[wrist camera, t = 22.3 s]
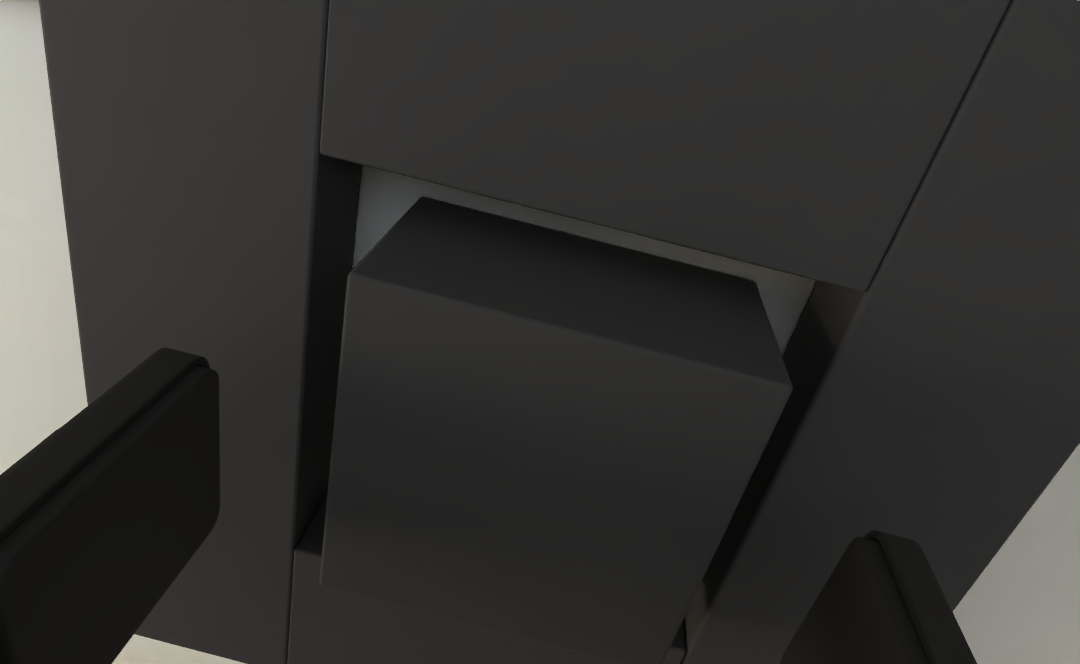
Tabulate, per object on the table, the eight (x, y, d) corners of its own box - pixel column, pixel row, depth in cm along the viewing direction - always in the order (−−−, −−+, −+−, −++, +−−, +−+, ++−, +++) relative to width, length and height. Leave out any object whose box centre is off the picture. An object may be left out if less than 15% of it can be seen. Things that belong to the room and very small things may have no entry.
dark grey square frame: (1233, 51, 10) (1365, 70, 8) (788, 724, 17) (805, 810, 16) (117, -227, 10) (3, -269, 8) (166, 563, 17) (113, 630, 16)
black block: (756, 280, 12) (795, 387, 9) (655, 529, 15) (658, 675, 12) (420, 194, 12) (346, 273, 9) (383, 459, 15) (317, 587, 12)
